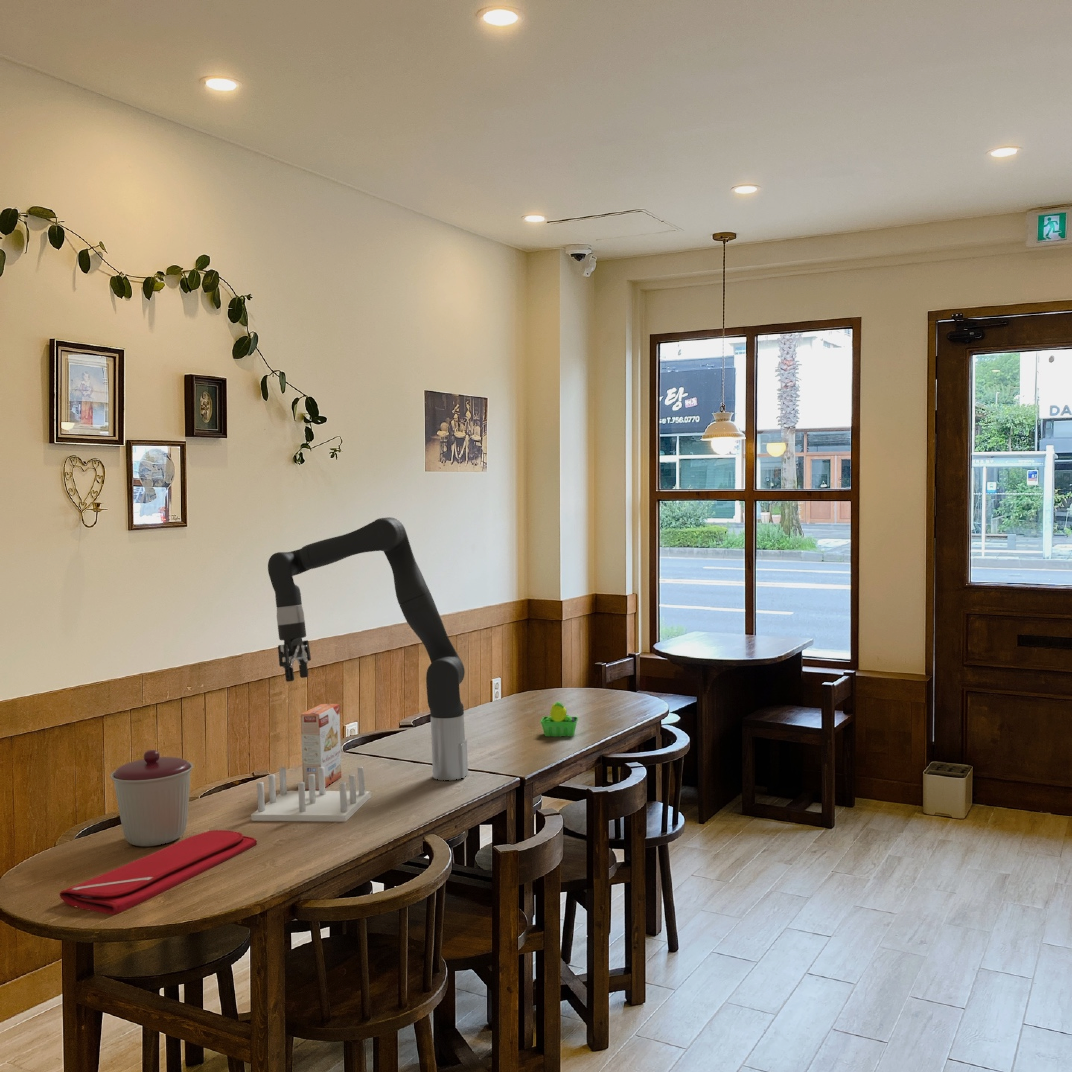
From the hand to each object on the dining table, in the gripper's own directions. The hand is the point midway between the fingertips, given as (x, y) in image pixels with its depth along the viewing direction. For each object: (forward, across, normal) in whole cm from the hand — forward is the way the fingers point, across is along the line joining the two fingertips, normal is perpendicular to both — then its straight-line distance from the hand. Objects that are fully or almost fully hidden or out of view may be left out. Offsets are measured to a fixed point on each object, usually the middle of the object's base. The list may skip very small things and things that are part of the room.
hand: (297, 679), depth 285 cm
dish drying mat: (+33, -71, -2) cm, 79 cm away
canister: (+30, -53, +13) cm, 62 cm away
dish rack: (+31, -26, -14) cm, 43 cm away
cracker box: (+29, -5, -7) cm, 30 cm away
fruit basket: (+31, +56, -60) cm, 88 cm away
